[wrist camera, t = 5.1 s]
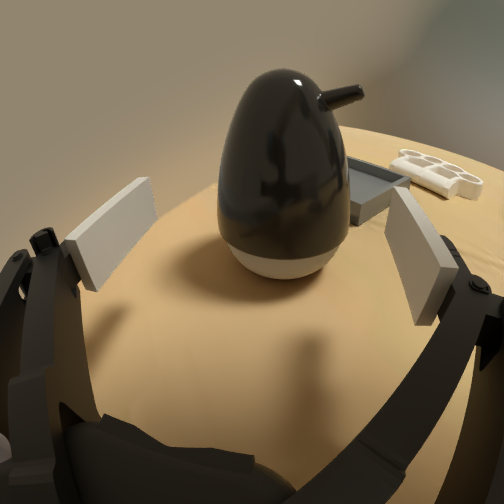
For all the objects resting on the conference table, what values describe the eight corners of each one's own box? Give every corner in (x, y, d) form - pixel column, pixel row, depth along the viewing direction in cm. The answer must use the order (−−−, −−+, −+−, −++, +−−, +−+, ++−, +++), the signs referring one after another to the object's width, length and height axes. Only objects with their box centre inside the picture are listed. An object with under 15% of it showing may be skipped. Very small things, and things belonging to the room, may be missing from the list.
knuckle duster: (373, 170, 45) (412, 162, 51) (462, 212, 32) (485, 196, 38) (375, 152, 43) (414, 147, 49) (468, 191, 30) (489, 179, 36)
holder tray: (330, 165, 45) (330, 151, 44) (408, 193, 36) (411, 177, 34) (265, 185, 38) (264, 168, 36) (358, 226, 28) (361, 204, 27)
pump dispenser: (330, 316, 19) (359, 68, 10) (199, 279, 22) (170, 74, 14) (352, 240, 26) (368, 76, 17) (253, 220, 30) (246, 71, 21)
